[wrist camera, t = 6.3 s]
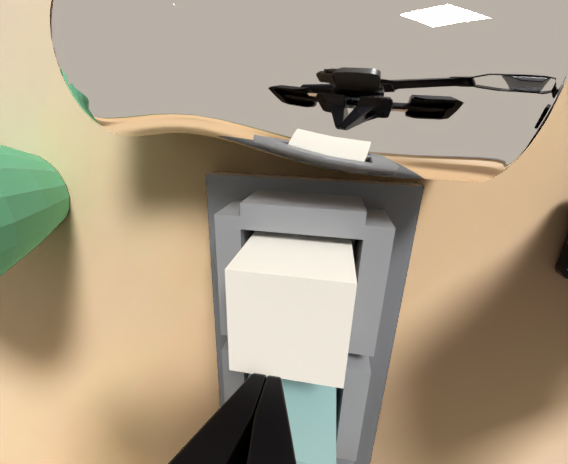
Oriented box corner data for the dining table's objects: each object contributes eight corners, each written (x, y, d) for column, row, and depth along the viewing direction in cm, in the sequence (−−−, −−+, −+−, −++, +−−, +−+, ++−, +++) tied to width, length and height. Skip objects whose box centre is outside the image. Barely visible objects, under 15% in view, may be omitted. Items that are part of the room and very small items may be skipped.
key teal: (336, 367, 16) (336, 468, 11) (329, 426, 17) (326, 536, 13) (255, 355, 16) (224, 445, 12) (256, 413, 18) (227, 513, 13)
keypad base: (418, 183, 15) (446, 201, 11) (361, 485, 23) (366, 555, 19) (213, 171, 16) (176, 183, 13) (228, 457, 24) (209, 516, 21)
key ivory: (350, 232, 14) (357, 283, 9) (341, 311, 15) (343, 388, 11) (260, 225, 15) (224, 269, 10) (259, 301, 16) (229, 370, 12)
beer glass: (173, 38, 16) (469, 54, 13) (152, 163, 16) (447, 201, 13) (54, -123, 9) (619, -147, 7) (13, 99, 9) (577, 155, 6)
